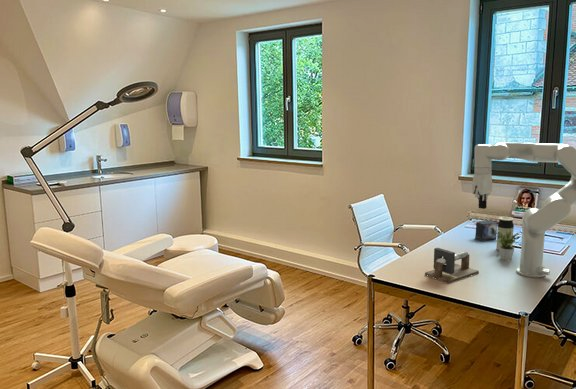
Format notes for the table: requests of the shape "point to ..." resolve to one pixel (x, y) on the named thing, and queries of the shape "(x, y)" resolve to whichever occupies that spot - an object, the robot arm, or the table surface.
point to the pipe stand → (459, 270)
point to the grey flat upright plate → (449, 259)
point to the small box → (486, 230)
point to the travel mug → (504, 228)
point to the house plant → (507, 245)
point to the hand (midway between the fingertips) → (482, 208)
